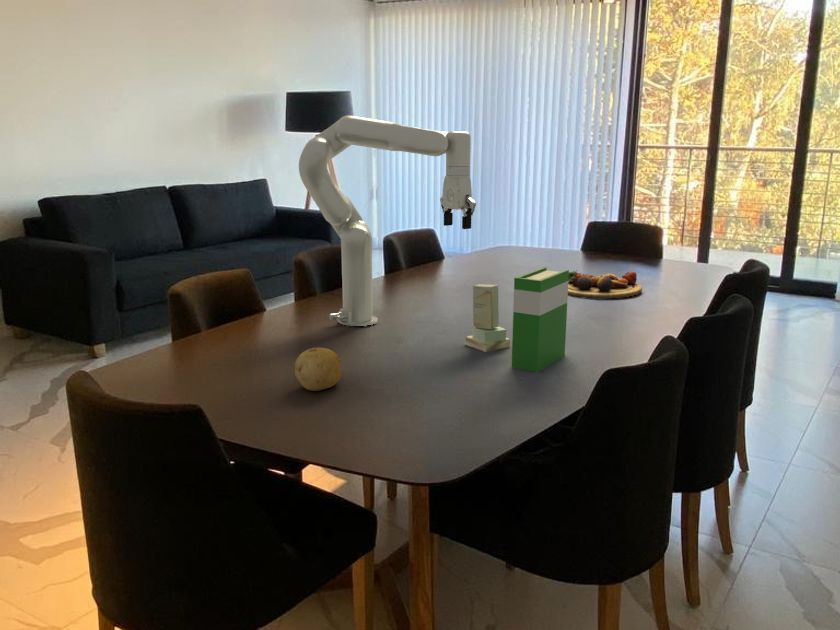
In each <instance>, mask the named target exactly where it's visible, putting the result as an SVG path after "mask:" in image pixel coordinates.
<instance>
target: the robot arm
mask: <svg viewBox="0 0 840 630" xmlns="http://www.w3.org/2000/svg"><path fill="white" fill-rule="evenodd" d="M471 140H472V138H471V133H470V132H469V131H465V130H464V131H463V130H460V131H459V130H455V131H453V130H452V131H449V132H448V131H441V130H434V129H433V130H432V129H427V128H421V127H414V126H409V125H404V124H400V123H398V122H392V121H387V120H382V119H375V118H368V117H363V116H357V115H351V114H350V115H343V116H341V117H340V118H339V119H337V121H336V122H334V123H333V124H332V125H330V126H329V127H327V128H326V129H323V130H322V132H320V133H318V135H316V136H314V137H313V138H311V139H310V140H308V141H307V142H306V144H305V145H304V147H303V149H302V151H301V154H300V157H299V160H298V173H299V177H300V180H301V182H302V184H303V186H304V188H305V189H306V190H307V192H308V194H310V196H311V198H312V200H313V201H314V203H315V205H316V206H317V207H318V209H319V210H320V212H321V215H322V217H323V218H324V219H325V221H326V222H328V223H329V224H330V225H331V227H332V229H334V231H335V232H336V234H337V236H338V237H339V239H340V247H341V248H340V249H341V251H340V252H341V279H342V308H339V311H338V312H336V313H335V312H333V313H329V315H328V318H329V320H331V321H332V320H333V321H334V320H337V322H339V323H341V324H344V325H350V326H364V327H368V326H367V325H371V326H374V325H376V324H378V322H379V321H378V320H379V319H378V317H377V316H375V315H374V313H373V312H374V311H373V310H374V306H373V302H374V301H373V300H374V299H373V235H372V233H371V230H370V228H369V226H368V224H367V223H366V221H365V220H364V219H363V217H362V216H361V215H360V213H359V212H358V210H357V208H356V207H355V205H354V204H353V202H352V201H351V200H350V198H349V196H348V195H346V194H344V193H343V192H342V191H341V189H340V188H339V187H338V185H337V183H336V181H335V179H334V178H333V177H332V176H331V174H330V172H329V170H328V163H329V162H330V161H331V160H333V158H335V157H336V156H337V155H339V154H341V153H342V152H344V151H345V150H347V149H348V148H350V147H351V146H359V147H366V148H370V149H371V148H372V149H378V150H385V151H391V152H404V153H411V154H416V155H418V154H419V155H424V156H430V157H440V156H443V155H444V154H445V176H444V177H443V184H442V196H441V197H440V198H439V201H440V204H441V205H440V206H441V209H442V213H443V226H453V225H454V221H453V220H454V219H453V218H454V215H453V214H454V212H452V211H453V210H455V211H457V210H459V211H460V210H461V212H462V214H463V216H461V217H462V218H461V220H462V221H461V229H462V230H469V229H472V217H473V216H474V212H475V211H476V210H475V208H476V205H477V202H476V201H475V200H474V199H473V193H472V192H473V189H472V180H471V143H472V142H471ZM339 323H338V324H339ZM341 324H340V325H341ZM373 324H374V325H373ZM344 325H343V326H344Z"/></svg>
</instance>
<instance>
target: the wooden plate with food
mask: <svg viewBox="0 0 840 630" xmlns="http://www.w3.org/2000/svg"><path fill="white" fill-rule="evenodd" d="M637 280H638V279H637V272H635V271H633V270H631V271H627V272H626V273H625V274H623V275H621V278H620V277H619V276H616V275H615V274H613V273H607V274H601V275H590V274H587V273H580V272H579V271H578V270H577V269H576V270H572V271H569V278H568V296H569V295H571V296H570V297H574V296H577V297H576V298H580V297H586V298H585V299H589V298H619V299H623V298H622V297H627V298H630V297H629V296H632V297H635V296H634V295H636V296H638V295H639V294H641V293H642V291H643V287H642V285H640V284H639V283H637Z"/></svg>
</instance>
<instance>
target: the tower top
mask: <svg viewBox="0 0 840 630" xmlns="http://www.w3.org/2000/svg"><path fill="white" fill-rule="evenodd" d="M471 328H472V329H471V330H472V331H471V332H472V333H471V336H472V337H474V338H476V339H478V340H480V341H482V342H484V343H487V342H494V341H501V340H506V338H507V329H506V328H504V327H502V326H498V327H496V328H493V329H485V328H475V327H474V326H472V327H471Z"/></svg>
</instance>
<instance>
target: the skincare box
mask: <svg viewBox="0 0 840 630" xmlns="http://www.w3.org/2000/svg"><path fill="white" fill-rule="evenodd" d="M472 303H473V304H472V310H473V313H472V314H473V315H472V316H473V327H475V328H485V329H493V328H496V327H498V326H499V285H498V284H484V283H478V284H475V285H473V286H472ZM499 327H500V326H499Z"/></svg>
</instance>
